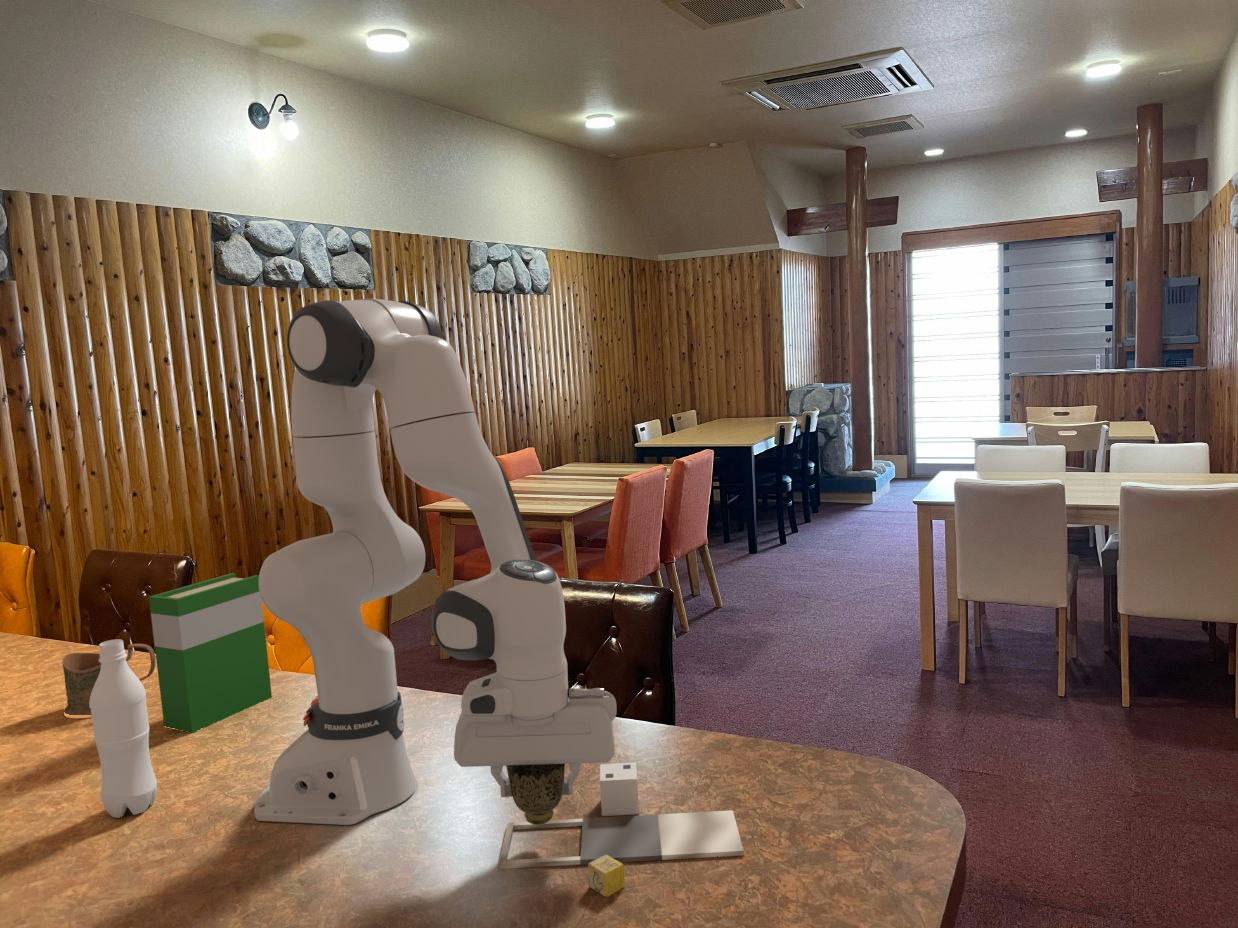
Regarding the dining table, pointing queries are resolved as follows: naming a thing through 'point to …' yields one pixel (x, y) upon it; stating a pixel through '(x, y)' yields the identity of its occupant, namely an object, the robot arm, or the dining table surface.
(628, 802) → the die
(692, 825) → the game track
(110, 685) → the water bottle
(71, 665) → the mug
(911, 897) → the dining table surface
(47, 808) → the dining table surface
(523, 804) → the cup
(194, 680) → the hardback book
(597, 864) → the alphabet block
